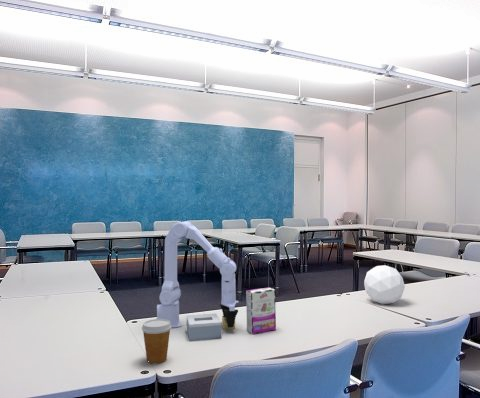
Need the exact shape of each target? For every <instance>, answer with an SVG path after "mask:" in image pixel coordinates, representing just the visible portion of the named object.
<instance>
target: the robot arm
mask: <svg viewBox="0 0 480 398" xmlns="http://www.w3.org/2000/svg"><path fill="white" fill-rule="evenodd" d="M183 239H188V240H189V239H190V240H193V241H195V242H196V243H197V244H198V245H199V246H200V247H201V248H202V249H203V250H204V251H205V252H207V258H208V259H209V260H210V262H212V263H213V265H215V266H216V267H217V268H218V269H219V273H220V275H221V302H220V304H219V306H220V308H221V311H222V316H226V318H227V325H228V328H229V327H234V322H235V323H236V318H237V315H238V313H239V310H238V309H236V307H235V306H236V305H237V304H239V302H240V301H239V300H236V296H237V294H236V289H237V288H236V287H237V286H236V273H235V272H236V271H237V264H236V262H235V261H234V260H232V259H231V258H230V257H228V256H227V255H226V254H225V253H224V252H223V249H222V248H221V247H220V248H219V247H217V246H215V247H214V246H213V245H212V244H211V243H210V242H209V240H208V239H207V238H206V237H205V236H204V235H203V234H202V232H201V231H200V230H199V229H198V228H197V227H196V226H195V225H193V223H192V222H190V221H189V220H185V221H178V222H175V223H174V224H172V226H170V229H169V230H168V233H167V234H166V235H165V239H164V280H163V283H162V286H161V292H160V294H159V297H158V298H159V302H160V303H161V304H156V319H165V320H169V321H170V324H171V325H172V327H171V328H180V327H181V326H182V325H181V321H180V301H179V299H180V297H181V296H182V291H181V289H180V283H179V281H178V244H179V242H181V241H182V240H183Z"/></svg>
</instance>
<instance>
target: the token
mask: <svg viewBox="0 0 480 398" xmlns="http://www.w3.org/2000/svg"><path fill="white" fill-rule="evenodd" d="M221 320H222V321H221V329H222V330H232V329H234V330H235V329H236V321H235V322H234V327H229V328H228V325H227V318H226V316H223V315H222V318H221Z"/></svg>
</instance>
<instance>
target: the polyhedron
mask: <svg viewBox="0 0 480 398" xmlns="http://www.w3.org/2000/svg"><path fill="white" fill-rule="evenodd" d="M365 274H366V275H365V278H364V282H363V285H364V289H365V290H364V291H365V293H366V294H367V295H368V297H369V298H370V299H371V301H373V302H375V303H379V304H380V305H387V304H394V303H395V302H397V301H399V300H400V299H401V298H402V297H403V294H404V291H405V288H406V285H405V281H404V278H403V276H402V275H401V274H400V272H399V271H398V270H397V268H395V267H392V266H388V265H386V264H385V265H376V266H374V267H372V268H370V270H368V271H366V273H365Z"/></svg>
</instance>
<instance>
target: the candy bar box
mask: <svg viewBox="0 0 480 398" xmlns="http://www.w3.org/2000/svg"><path fill="white" fill-rule="evenodd" d="M245 295H246V296H245V298H246V299H245V300H246V307H245V308H246V331H247V332H248V333H250V334H251V335H256V334H261V333H268V332H273V331H276V330H277V322H276V321H277V318H276V315H277V314H276V313H277V312H276V288H275V289H274V288H273V287H264V288H254V289H250V290H249V289H248V290H246V291H245Z"/></svg>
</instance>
